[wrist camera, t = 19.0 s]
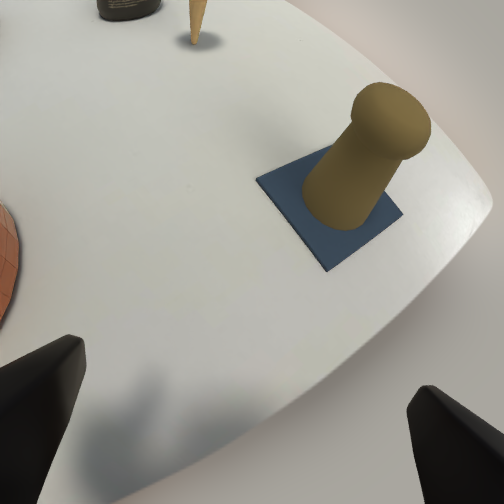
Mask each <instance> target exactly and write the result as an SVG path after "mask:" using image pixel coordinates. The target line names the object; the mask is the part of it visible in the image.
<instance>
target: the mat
mask: <svg viewBox="0 0 504 504" xmlns="http://www.w3.org/2000/svg"><path fill="white" fill-rule="evenodd" d="M331 146H332V145H331ZM331 146H328V147H326V148H324V149H321V150H319V151H317V152H314V153H312V154H310V155H307V156H305V157H303V158H300V159H298V160H296V161H293V162H291V163H289V164H287V165H284V166H282V167H280V168H278V169H275V170H273V171H271V172H269V173H267V174H264V175H262V176H260V177H258V178H256V181H257V182H258V184H259V185H260V186H261V187H262V189H263V190H264V191H265V192H266V194H267V195H268V196H269V197H270V199H271V200H272V201H273V202H274V204H275V205H276V206H277V208H278V209H279V210H280V211H281V213H282V214H283V215H284V216H285V218H286V219H287V220H288V222H289V223H290V224H291V226H292V227H293V228H294V229H295V231H296V232H297V233H298V235H299V236H300V237H301V239H302V240H303V241H304V242H305V244H306V245H307V246H308V248H309V249H310V250H311V252H312V253H313V254H314V256H315V257H316V258H317V260H318V261H319V262H320V264H321V265H322V266H323V268H324V269H325V270H326V272H328V271H329V270H331V269H332V268H333V267H335V266H336V265H338V264H339V263H340V262H342V261H343V260H344V259H346V258H347V257H348V256H350V255H351V254H353V253H354V252H355V251H357V250H358V249H359V248H361V247H362V246H363V245H365V244H366V243H367V242H369V241H370V240H371V239H373V238H374V237H375V236H377V235H378V234H379V233H380V232H382V231H383V230H384V229H386V228H387V227H388V226H390V225H391V224H392V223H393V222H395V221H396V220H397V219H399V218H400V217H401V216H402V215H403V213H402V212H401V211H400V209H399V208H398V207H397V206H396V204H395V203H394V202H393V201H392V199H391V198H390V197H389V196H388V195H387V193H386V192H385V191H384V192H383V193H382V195H381V196H380V198H379V200H378V201H377V203H376V204H375V206H374V208H373V209H372V211H371V212H370V214H369V216H368V217H367V219H366V220H365V222H364V223H363V225H361V226H359V227H358V228H356V229H353V230H347V231H343V230H336V229H333V228H330V227H328V226H326V225H324V224H322V223H321V222H320V221H319V220H317V219H316V218H315V217H314V216H313V215H312V214H311V212H310V211H309V210H308V208H307V207H306V205H305V202H304V199H303V197H302V185H303V183H304V180H305V178H306V177H307V175H308V174H309V173H310V172H311V171H312V169H313V168H314V167H315V166H316V165H317V163H318V162H319V161H320V160H321V159H322V157H323V156H324V155H325V154H326V152H327V151H328V150H329V149H330V148H331Z"/></svg>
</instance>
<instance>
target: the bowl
mask: <svg viewBox="0 0 504 504" xmlns="http://www.w3.org/2000/svg"><path fill="white" fill-rule="evenodd" d="M18 251H19V243H18V237H17V233H16V229H15V224H14V220H13V218H12V217H11V215H10V214H9V212H8V211H7V209H6V207H5V206H4V204H3V203H2V202H1V201H0V321H1V319H2V317H3V315H4V312H5V310H6V308H7V306H8V304H9V302H10V300H11V299H10V298H11V296H12V292H13V287H14V283H15V279H16V275H17V270H18Z"/></svg>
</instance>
